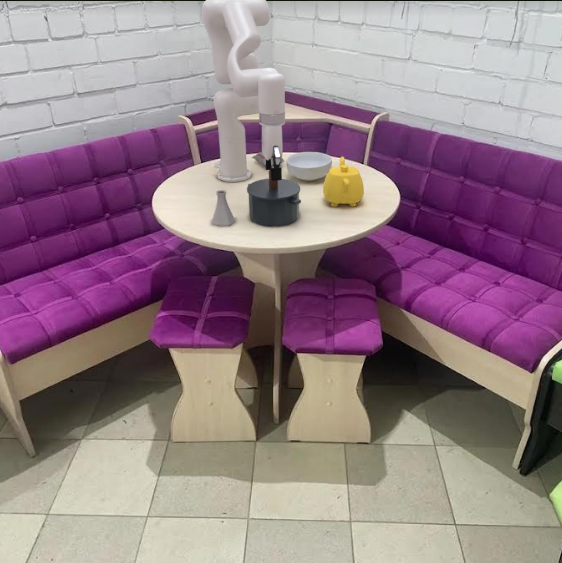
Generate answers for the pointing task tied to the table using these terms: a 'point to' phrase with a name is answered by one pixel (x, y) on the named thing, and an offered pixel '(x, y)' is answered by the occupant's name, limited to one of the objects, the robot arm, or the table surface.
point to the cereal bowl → (309, 165)
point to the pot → (274, 211)
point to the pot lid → (273, 189)
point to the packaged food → (262, 158)
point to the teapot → (343, 185)
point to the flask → (222, 210)
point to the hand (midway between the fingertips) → (273, 174)
